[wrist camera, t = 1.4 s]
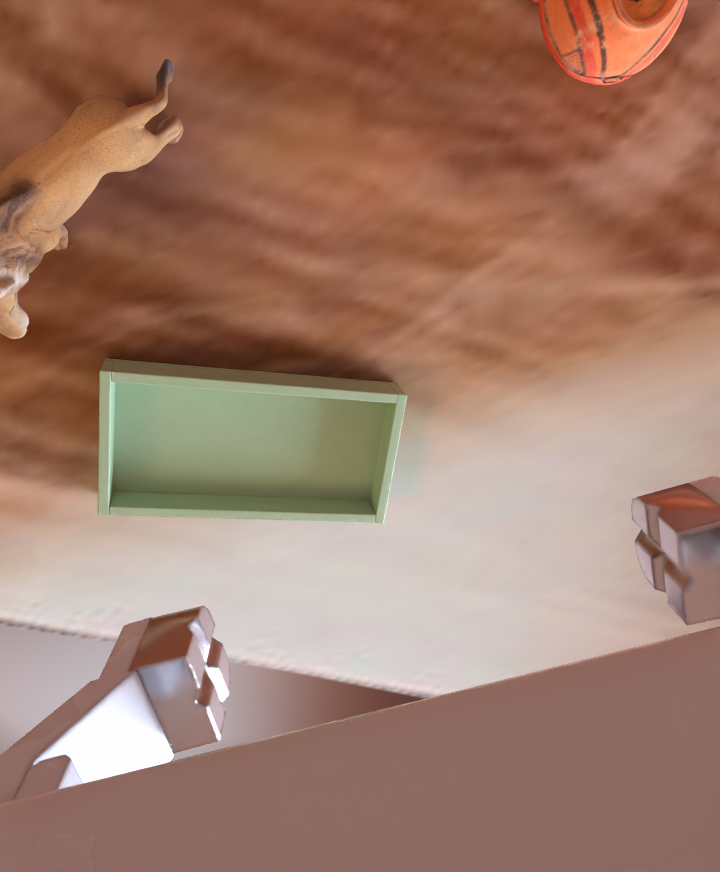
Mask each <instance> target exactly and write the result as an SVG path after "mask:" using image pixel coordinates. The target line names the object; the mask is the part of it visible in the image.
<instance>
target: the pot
mask: <svg viewBox="0 0 720 872" xmlns="http://www.w3.org/2000/svg"><path fill="white" fill-rule="evenodd" d="M532 1H534V2H538V3H539V15H540V23H541V29H542V33H543V36H544V39H545V42H546V44H547V46H548V48H549V50H550V52H551V53H552V55H553V57H554V58H555V60H556V61H557V62H558V64H559V65H560V66H561V67H562V69H563V70H564V71H565V72H566V73H567V74H569V75H570V76H572V77H574V78H575V79H578V80H580V81H583V82H586V83H590V84H596V85H610V84H615V83H618V82H621V81H623V80H625V79H627V78H630V77H632V76H631V75H634V74H635V73H637V72H639V71H640V70H642V69H644V68H645V67H646V66H648V65H649V64H650V63H651V62H653V61H654V59H655V58H656V57H657V56H658V55H659V54H660V53H661V52H662V51H663V50H664V49H665V47H666V46H667V45H668V43H669V42H670V40H671V39H672V37H673V35H674V34H675V32H676V30H677V28H678V26H679V24H680V22H681V20H682V17H683V15H684V12H685V9H686V6H687V3H688V0H532ZM629 76H630V77H629Z"/></svg>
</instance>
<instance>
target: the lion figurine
mask: <svg viewBox="0 0 720 872" xmlns="http://www.w3.org/2000/svg"><path fill="white" fill-rule="evenodd" d="M172 73H173V63H172V62H171V61H170V60H169V59H165V60H164V62H163V64H162V66H161V69H160V70H159V72H158V73H157V76H156V82H157V92H156V97H155V98H154V99H153V100H151V101H147V102H145V103H143V104H139V105H135V106H132V107H130V108H129V107H127V105H126V104H125V103H123V102H121V101H119V100H117V99H114V98H111V97H108V96H95V97H93V98H90V99H89V100H87V101H86V102H84V103H82V104H80V105H79V106H78V107H77V108H76V109H75V110H74V112H73V114H72V115H71V116H70V117H69V119H68V120H67V121H66V123H65V124H64V125H63V127H62V128H61V129H60V130H59V131H58V132H56V133H55V134H54V135H52V136H51V137H49V138H48V139H46V140H44V141H43V142H41V143H39V144H38V145H36V146H35V147H33V148H32V149H30V150H28V151H27V152H25V153H24V154H22V155H20V156H19V157H17V158H16V159H15V160H13V161H12V162H11V163H10V164H9V165H8V166H7V167H6V168H5V169H4V170H3V171H2V172H1V173H0V333H1V334H3V335H5V336H7V337H9V338H11V339H17V338H21V337H23V336H24V335H25V334H26V331H27V329H26V327H27V326H28V323H29V319H28V316H27V314H26V313H25V311H23V310H22V308H21V306H20V303H19V302H18V300H17V292H18V291H19V289H20V288H22V287H23V286H24V285H25V284H26V283H27V282H28V280H29V273H31V272H32V271H33V270H35V268H36V267H37V266H38V265H39V264H40V262H41V260H42V257H43V254H44V253H46V252H48V251H50V250H52V249H55V250H60V249H65V248H66V247H67V245H68V232H67V229H66V228H65V227H64V226H63V223H64V222H66V221H67V220H68V219H69V218H70V217H71V216H72V215H73V214H75V213H76V212H77V210H78V209H79V208H80V207H81V205H82V204H83V203H84V201H85V200H86V199H87V198H88V196H89V195H90V194H91V193H92V192H93V190H94V189H95V187H96V186H97V184H98V182H99V180H100V179H101V178H102V176H103V175H105V174H106V173H110V172H126V171H131V170H134V169H136V168H138V167H140V166H142V165H145V164H147V163H148V162H150V161H151V160H152V159H153V158H154V157H155V156H156V155H157V154H158V153H159V152H160V151H161V149H162V148H163V147H164V146H165V145H166V144H167V143H168V144H170V143H177V142H178V141H179V139H180V138H181V136H182V134H183V125H182V123H181V121H180V120H179V119H178V118H177V117H176V116H170V117H168V118H166V119H165V120H163V121H162V122H161V123H160V124H159V126H158V129H157V130H156V131H155V132H149V131H147V130H146V129H145V128H144V126H145V124H146V123H147V122H148V121H149V120H150V119H151V118H152V117H153V116H155V115H157V114H158V113H160V112H161V111H162V110H163V109H164V108H165V107H166V105H167V99H168V84H169V83H170V82H171V80H172Z"/></svg>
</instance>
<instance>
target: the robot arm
mask: <svg viewBox="0 0 720 872" xmlns="http://www.w3.org/2000/svg"><path fill="white" fill-rule="evenodd" d="M631 512H632V520H633V521H634V522H635V523H636V524H637V525H638V526H639V527H640V528H641V531H640V533H639V535H638V536H637V538H636V540H635V545H636V551H637V557H638V560H639V563H640V566H641V568H642V571H643V573H644V575H645V576H646V578H647V580H648V581H649V583H650V584H651V585H652V586H653V587H654V588H655V589H656V590H659V591H662V592H665V593H666V595H667V603H668V604H669V606H670V607H671V608H672V609H673V610H674V611H675V612H676V613H677V614H678V616H679V617H680V618H681V619H682V620H683V621H684V622H685V623H686V624H687V625H692V624H697V623H701V622H706V621H710V620H715V619H720V478H719V477H713V476H711V477H707V478H704V479H701V480H697V481H694V482H690V483H686V484H683V485H679V486H675V487H672V488H668V489H665V490H661V491H657V492H654V493H650V494H647V495H643V496H639V497H636V498H634V499H632V504H631ZM214 627H215V623H214V621H213V619H212V616H211V614H210V612H209V610H208V609H207V608H206V607H205V606H201V607H196V608H192V609H188V610H184V611H179V612H175V613H171V614H166V615H162V616H158V617H154V618H148V619H144V620H140V621H137V622H133V623H130V624H127V625H125V626H124V627H123V629H122V631H121V633H120V635H119V637H118V640H117V642H116V644H115V646H114V648H113V650H112V653H111V654H110V657H109V659H108V661H107V663H106V665H105V667H104V669H103V671H102V674H101V676H100V678H99V679H98V680H94V681H91V682H89V683H88V684H87V685H86V686H85V687H83V688H82V689H81V690H80V691H79V692H77V693H76V694H75V695H73V696H72V697H71V698H70V699H69V700H68V701H66V702H65V703H64V704H63V705H61V706H60V707H59V708H58V709H56V710H55V711H54V712H53V713H52V714H51V715H49V716H48V717H47V718H45V719H44V720H43V721H42V722H41V723H39V724H38V725H37V726H36V727H35V728H33V729H32V730H31V731H30V732H28V733H27V734H26V735H25V736H24V737H22V738H21V739H20V740H19V741H17V742H16V743H15V744H14V745H13V746H11V747H10V748H9V749H8V750H7V751H5V752H4V753H3V754H2V755H0V872H720V627H716V628H711V629H707V630H703V631H699V632H695V633H691V634H687V635H683V636H679V637H675V638H671V639H667V640H663V641H659V642H655V643H651V644H646V645H642V646H638V647H634V648H630V649H626V650H622V651H618V652H614V653H610V654H606V655H602V656H598V657H594V658H590V659H586V660H581V661H577V662H573V663H569V664H565V665H561V666H557V667H553V668H549V669H545V670H541V671H537V672H533V673H529V674H525V675H521V676H516V677H512V678H508V679H504V680H500V681H496V682H492V683H488V684H484V685H480V686H476V687H472V688H468V689H464V690H460V691H455V692H451V693H447V694H443V695H439V696H435V697H431V698H427V699H423V700H419V701H415V702H411V703H407V704H403V705H399V706H394V707H390V708H386V709H382V710H378V711H374V712H370V713H366V714H362V715H358V716H354V717H350V718H346V719H342V720H338V721H333V722H330V723H325V724H322V725H317V726H313V727H309V728H305V729H301V730H297V731H293V732H289V733H285V734H281V735H276V736H273V737H269V738H264V739H260V740H256V741H252V742H248V743H245V744H240V745H236V746H232V747H228V748H224V749H220V750H216V751H211V752H208V753H203V754H200V755H195V756H192V757H187V758H183V759H179V760H175V761H171V762H170V760H171V759H172V758H173V756H174V754H173V753H177V752H180V751H184V750H188V749H191V748H195V747H198V746H202V745H205V744H209V743H212V742H217V741H220V738H221V733H222V728H223V723H224V717H225V710H224V708H223V705H222V702H223V701H224V699H225V698H226V697H227V696H228V695H229V690H230V684H231V683H230V667H229V663H228V659H227V655H226V652H225V649H224V647H223V644H222V643H220V642H219V641H217V640H216V639H214V638H213V637H212V635H213V631H214Z"/></svg>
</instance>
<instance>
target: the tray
mask: <svg viewBox="0 0 720 872" xmlns="http://www.w3.org/2000/svg"><path fill="white" fill-rule="evenodd" d="M406 399H407V394H406V393H405V392H404V391H403V390H402V389H401V387H400V386H399V385H398V384H397V383H393V382H381V381H369V380H357V379H345V378H333V377H321V376H309V375H297V374H285V373H273V372H262V371H250V370H238V369H226V368H214V367H202V366H190V365H178V364H166V363H154V362H143V361H131V360H119V359H107V358H106V359H105V361H104V363H103V365H102V367H101V369H100V371H99V457H98V515H113V516H150V517H187V518H224V519H261V520H298V521H335V522H372V523H374V522H375V523H384V518H385V513H386V507H387V502H388V496H389V491H390V486H391V480H392V475H393V469H394V464H395V459H396V453H397V448H398V442H399V437H400V432H401V426H402V421H403V415H404V410H405V405H406Z"/></svg>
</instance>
